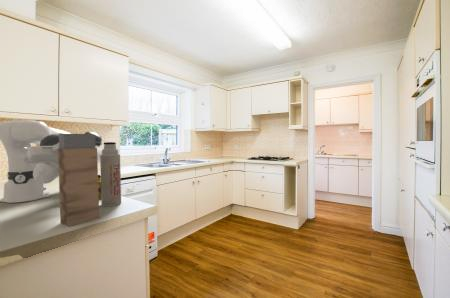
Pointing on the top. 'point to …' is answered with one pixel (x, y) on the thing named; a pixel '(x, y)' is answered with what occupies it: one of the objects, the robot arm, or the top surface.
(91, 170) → the pedestal
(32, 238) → the top surface
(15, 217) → the top surface
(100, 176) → the condiment
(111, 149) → the thermos bottle
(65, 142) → the brushed metal plate
